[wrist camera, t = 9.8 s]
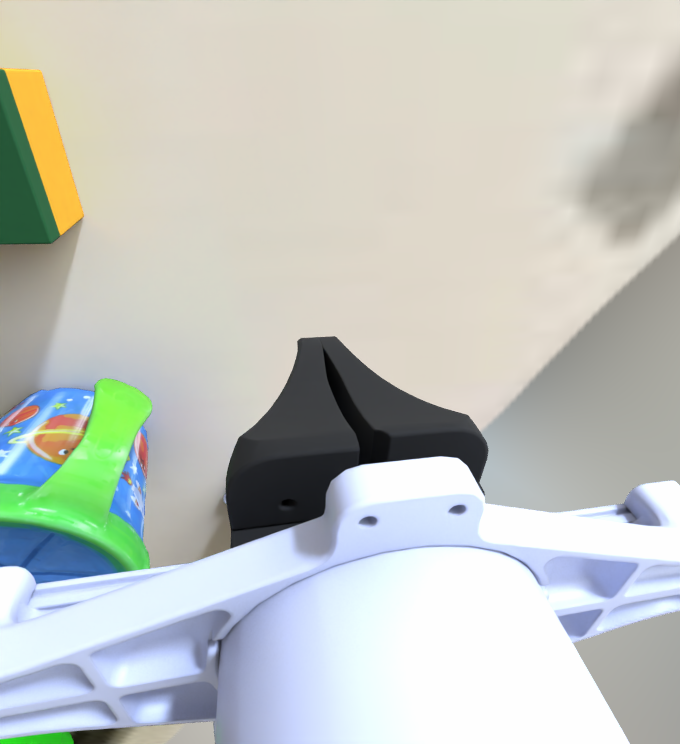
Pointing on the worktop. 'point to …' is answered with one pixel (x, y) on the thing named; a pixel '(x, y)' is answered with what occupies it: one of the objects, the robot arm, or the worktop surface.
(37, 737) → the plastic bottle
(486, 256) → the worktop surface
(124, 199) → the worktop surface
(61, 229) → the sponge
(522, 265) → the worktop surface
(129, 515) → the snack cup
